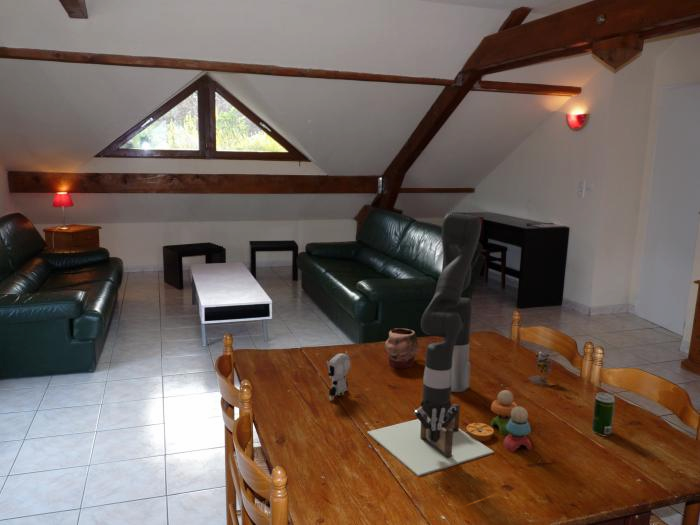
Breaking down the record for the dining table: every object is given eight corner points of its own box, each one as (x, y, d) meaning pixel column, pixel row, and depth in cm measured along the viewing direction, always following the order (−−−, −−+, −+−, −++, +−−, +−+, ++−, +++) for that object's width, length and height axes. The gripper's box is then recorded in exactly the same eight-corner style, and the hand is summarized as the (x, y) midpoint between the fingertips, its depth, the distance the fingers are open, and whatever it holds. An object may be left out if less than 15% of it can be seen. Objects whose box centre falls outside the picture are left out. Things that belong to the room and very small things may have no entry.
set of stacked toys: (458, 429, 172) (461, 391, 170) (505, 421, 178) (508, 384, 176) (493, 459, 156) (496, 417, 153) (544, 448, 162) (547, 408, 159)
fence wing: (424, 439, 163) (425, 417, 162) (430, 438, 164) (431, 415, 163) (447, 457, 154) (448, 433, 152) (453, 456, 155) (454, 432, 153)
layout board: (436, 415, 181) (436, 413, 181) (493, 452, 159) (493, 450, 158) (367, 433, 169) (367, 431, 168) (417, 476, 146) (418, 474, 146)
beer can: (615, 434, 170) (619, 397, 168) (602, 438, 168) (606, 400, 166) (600, 427, 175) (604, 390, 173) (587, 430, 173) (591, 393, 170)
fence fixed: (455, 427, 172) (456, 402, 171) (460, 430, 170) (461, 405, 169) (418, 437, 166) (419, 411, 164) (423, 440, 164) (424, 415, 162)
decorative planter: (397, 353, 237) (398, 321, 235) (425, 358, 232) (426, 326, 229) (377, 368, 220) (378, 334, 217) (407, 374, 214) (408, 339, 212)
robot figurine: (560, 381, 211) (563, 351, 208) (557, 390, 202) (559, 358, 200) (529, 375, 216) (532, 346, 213) (525, 384, 207) (527, 353, 205)
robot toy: (335, 404, 188) (336, 361, 185) (324, 401, 190) (325, 359, 187) (354, 391, 198) (355, 351, 195) (343, 388, 200) (344, 348, 198)
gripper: (419, 389, 147) (415, 450, 150) (466, 385, 150) (461, 445, 153) (409, 378, 154) (406, 436, 157) (454, 375, 157) (450, 432, 161)
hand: (433, 441), depth 155 cm, fingers closed
